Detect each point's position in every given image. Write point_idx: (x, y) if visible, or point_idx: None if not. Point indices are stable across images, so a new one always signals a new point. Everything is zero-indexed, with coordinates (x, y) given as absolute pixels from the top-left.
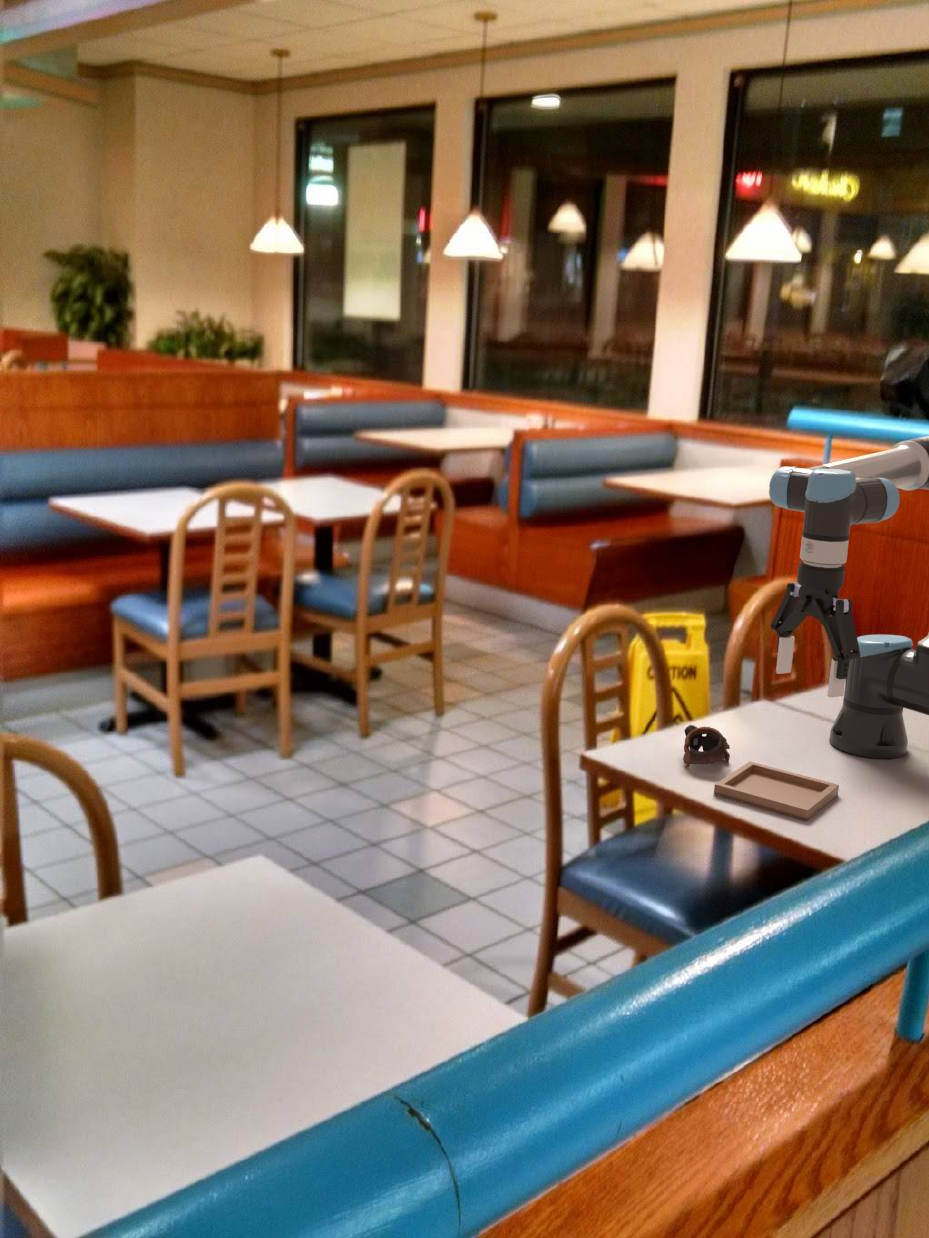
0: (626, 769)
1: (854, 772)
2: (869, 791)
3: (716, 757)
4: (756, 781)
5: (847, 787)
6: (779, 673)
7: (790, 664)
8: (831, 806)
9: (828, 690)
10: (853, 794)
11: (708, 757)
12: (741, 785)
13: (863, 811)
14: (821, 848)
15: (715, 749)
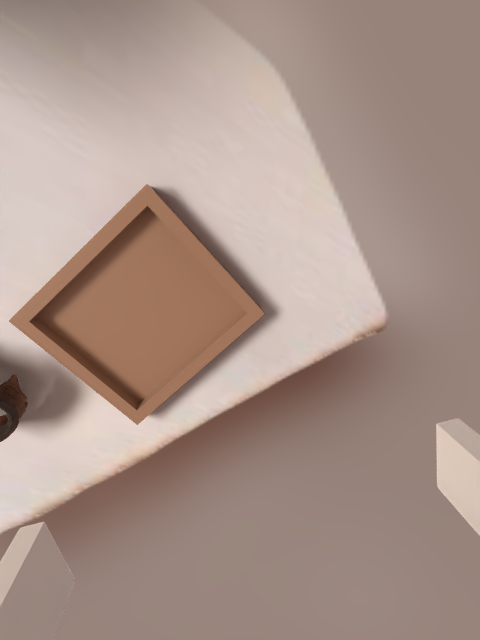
0: (29, 509)
1: (6, 58)
2: (131, 94)
3: (18, 395)
4: (91, 329)
5: (107, 137)
6: (73, 579)
7: (21, 578)
8: (204, 230)
9: (462, 511)
10: (147, 146)
11: (18, 409)
12: (113, 364)
13: (233, 176)
14: (356, 330)
15: (9, 408)
